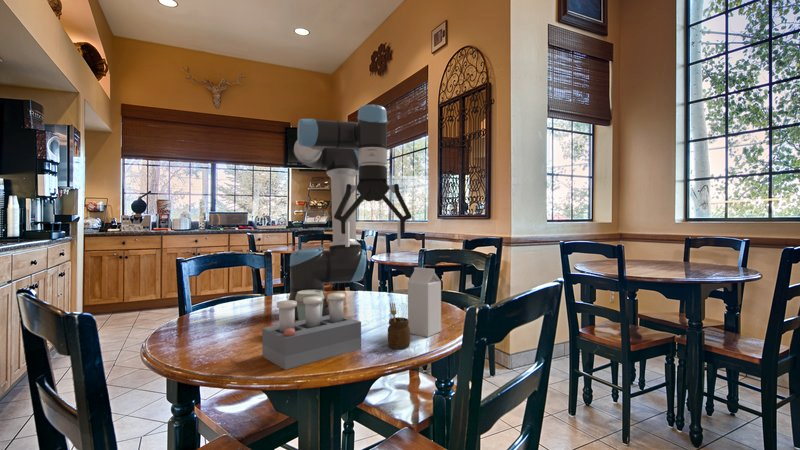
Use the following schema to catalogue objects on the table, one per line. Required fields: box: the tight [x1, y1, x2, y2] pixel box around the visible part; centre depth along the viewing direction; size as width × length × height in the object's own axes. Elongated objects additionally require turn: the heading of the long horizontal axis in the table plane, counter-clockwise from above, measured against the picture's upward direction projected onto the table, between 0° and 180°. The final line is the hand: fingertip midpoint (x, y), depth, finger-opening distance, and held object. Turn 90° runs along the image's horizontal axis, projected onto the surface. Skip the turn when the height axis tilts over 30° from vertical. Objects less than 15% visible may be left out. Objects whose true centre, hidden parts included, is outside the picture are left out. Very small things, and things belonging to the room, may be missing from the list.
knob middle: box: [303, 296, 322, 328], centre depth 100 cm, size 5×5×7 cm
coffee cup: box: [295, 290, 325, 321], centre depth 119 cm, size 8×8×12 cm
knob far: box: [326, 292, 346, 323], centre depth 105 cm, size 5×5×7 cm
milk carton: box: [407, 266, 442, 338], centre depth 118 cm, size 7×7×19 cm
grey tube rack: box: [261, 314, 362, 371], centre depth 100 cm, size 12×21×8 cm, turn 133°
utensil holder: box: [387, 302, 411, 350], centre depth 105 cm, size 6×6×12 cm
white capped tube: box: [276, 299, 297, 334], centre depth 96 cm, size 5×5×7 cm
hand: (373, 246), depth 106 cm, fingers open, 13 cm apart
